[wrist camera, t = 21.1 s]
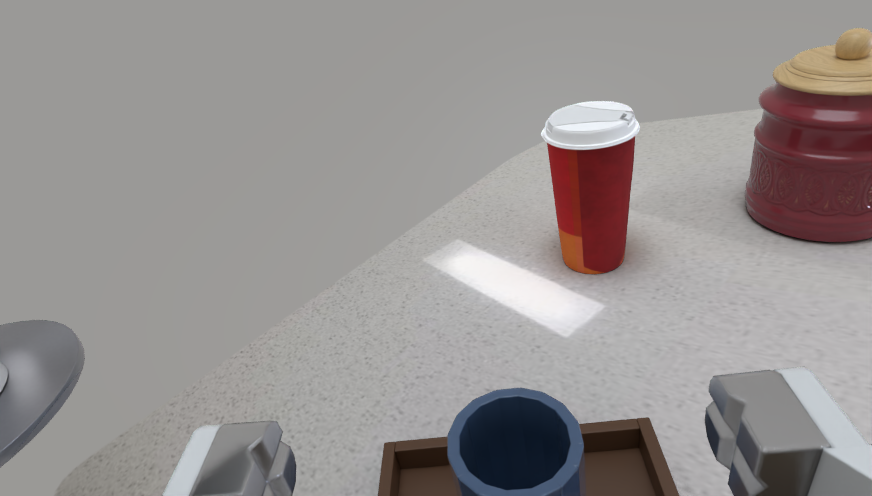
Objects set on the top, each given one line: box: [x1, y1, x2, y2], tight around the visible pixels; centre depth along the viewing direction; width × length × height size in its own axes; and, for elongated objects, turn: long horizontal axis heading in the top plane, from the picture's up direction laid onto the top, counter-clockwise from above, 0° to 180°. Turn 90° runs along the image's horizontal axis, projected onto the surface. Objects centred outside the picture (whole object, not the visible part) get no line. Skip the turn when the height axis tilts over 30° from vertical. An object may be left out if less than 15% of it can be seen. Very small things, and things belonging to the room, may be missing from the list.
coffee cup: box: [541, 101, 640, 274], centre depth 51 cm, size 8×8×15 cm
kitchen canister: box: [745, 28, 872, 242], centre depth 50 cm, size 13×13×18 cm
